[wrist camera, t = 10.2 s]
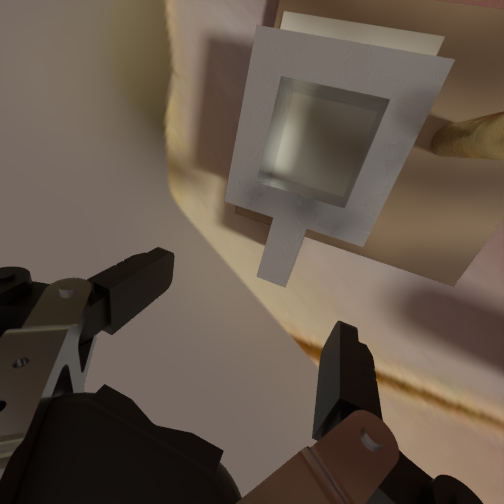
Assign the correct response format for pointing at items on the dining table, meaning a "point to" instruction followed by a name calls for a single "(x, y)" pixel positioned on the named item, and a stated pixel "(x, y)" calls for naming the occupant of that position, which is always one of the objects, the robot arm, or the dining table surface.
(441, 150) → the post
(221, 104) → the dining table surface
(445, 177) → the board
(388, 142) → the grey frame with handle
